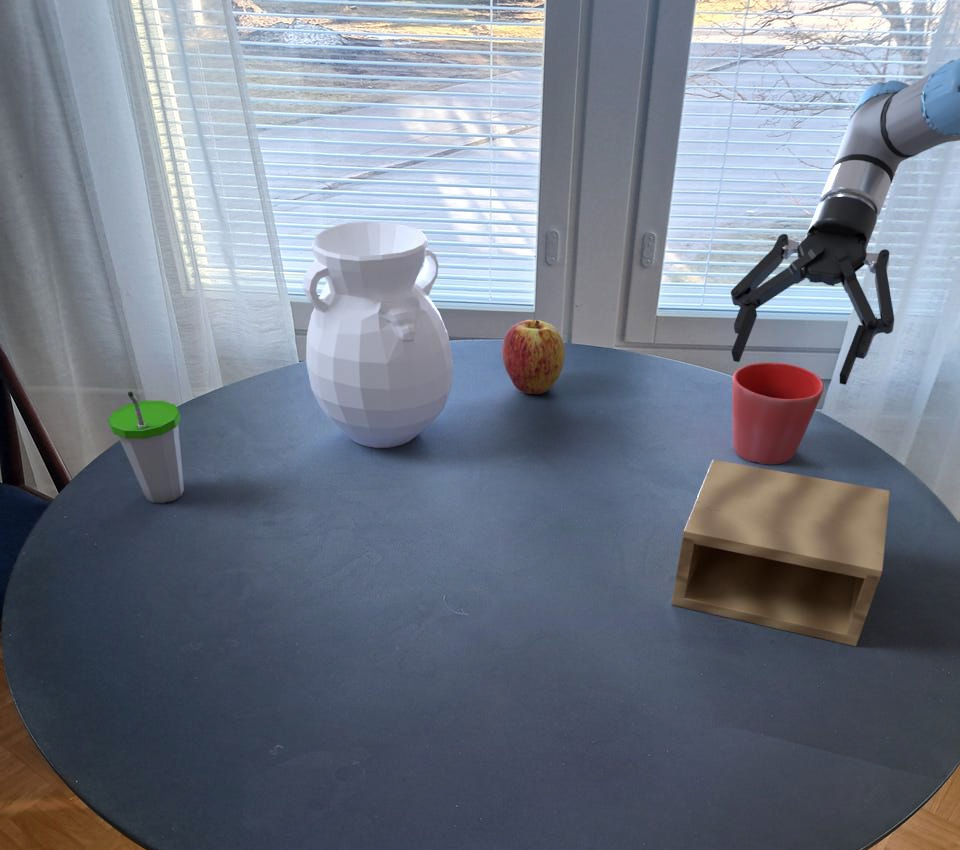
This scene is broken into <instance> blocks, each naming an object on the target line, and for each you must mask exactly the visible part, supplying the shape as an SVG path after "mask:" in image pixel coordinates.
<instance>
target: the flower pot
mask: <svg viewBox="0 0 960 850" xmlns="http://www.w3.org/2000/svg"><path fill="white" fill-rule="evenodd" d="M731 385H732V389H731V391H732V392H731V394H732V395H731V396H732V398H731V399H732V401H731V402H732V403H731V404H732V410H731V412H732V413H731V414H732V444H733V445H732V447H733V451H734V452H735V454H737V455H738V456H739V457H741V458H742V459H744V460H745V461H747V462H748V461H749V462H750V463H751V462H752V463H758V464H759V465H779V464H780V465H781V464H783V463H787V462H789V461H790V460H792V459H793V457H794V456H795V454H796V453H797V450H798V449H799V447H800V444H801V442H802V440H803V438H804V436H805V433H806V431H807V430H808V427H809V425H810V423H811V420H812V418H813V415H814V413H815V411H816V409H817V406H818V405H819V402H820V400H821V398H822V395H823V393H824V390H825V385H824V381H823V380H822V379H821V378H820V377H819V376H818V374H816V373H814V372H813V371H811V370H809V369H806V368H805V367H801V366H798V365H795V364H790V363H783V362H770V361H769V362H768V361H767V362H765V361H764V362H756V363H750V364H747V365H744V366H741V367H740V368H738V369H736V371H734V374H733V376H732V383H731Z"/></svg>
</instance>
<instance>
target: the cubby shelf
mask: <svg viewBox="0 0 960 850" xmlns="http://www.w3.org/2000/svg"><path fill="white" fill-rule="evenodd" d="M890 494H891V490H888V489H883V488H877V487H871V486H866V485H860V484H853V483H849V482H843V481H839V480H838V481H837V480H832V479H825V478H819V477H814V476H809V475H803V474H798V473H793V472H792V473H791V472H786V471H780V470H774V469H768V468H763V467H757V466H752V465H746V464H740V463H734V462H729V461H723V460H717V459H712V461H711V463H710V465H709V468H708V470H707V473H706V475H705V478H704V480H703V482H702V484H701V487H700V490H699V492H698V494H697V497H696V499H695V501H694V504H693V507H692V509H691V512H690V514H689V517H688V519H687V522H686V524H685V527H684V528H683V529H684V530H683V533H682V538H681V544H680V550H679V552H680V553H679V557H678V563H677V564H678V565H677V570H676V575H675V581H674V588H673V594H672V600H671V606H674V607H678V608H682V609H688V610H692V611H697V612H702V613H705V614H710V615H714V616H719V617H724V618H728V619H731V620H737V621H740V622H746V623H750V624H755V625H759V626H763V627H768V628H772V629H777V630H781V631H785V632H790V633H794V634H797V635H804V636H807V637H812V638H816V639H821V640H825V641H829V642H835V643H838V644H843V645H847V646H851V647H856V646H858V642H859V639H860V636H861V633H862V631H863V628H864V625H865V622H866V619H867V617H868V614H869V611H870V608H871V605H872V602H873V599H874V596H875V593H876V591H877V588H878V585H879V582H880V579H881V576H882V573H883V569H884V559H885V547H886V538H887V537H886V536H887V528H888V527H887V526H888V517H889V505H890V496H891V495H890Z"/></svg>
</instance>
